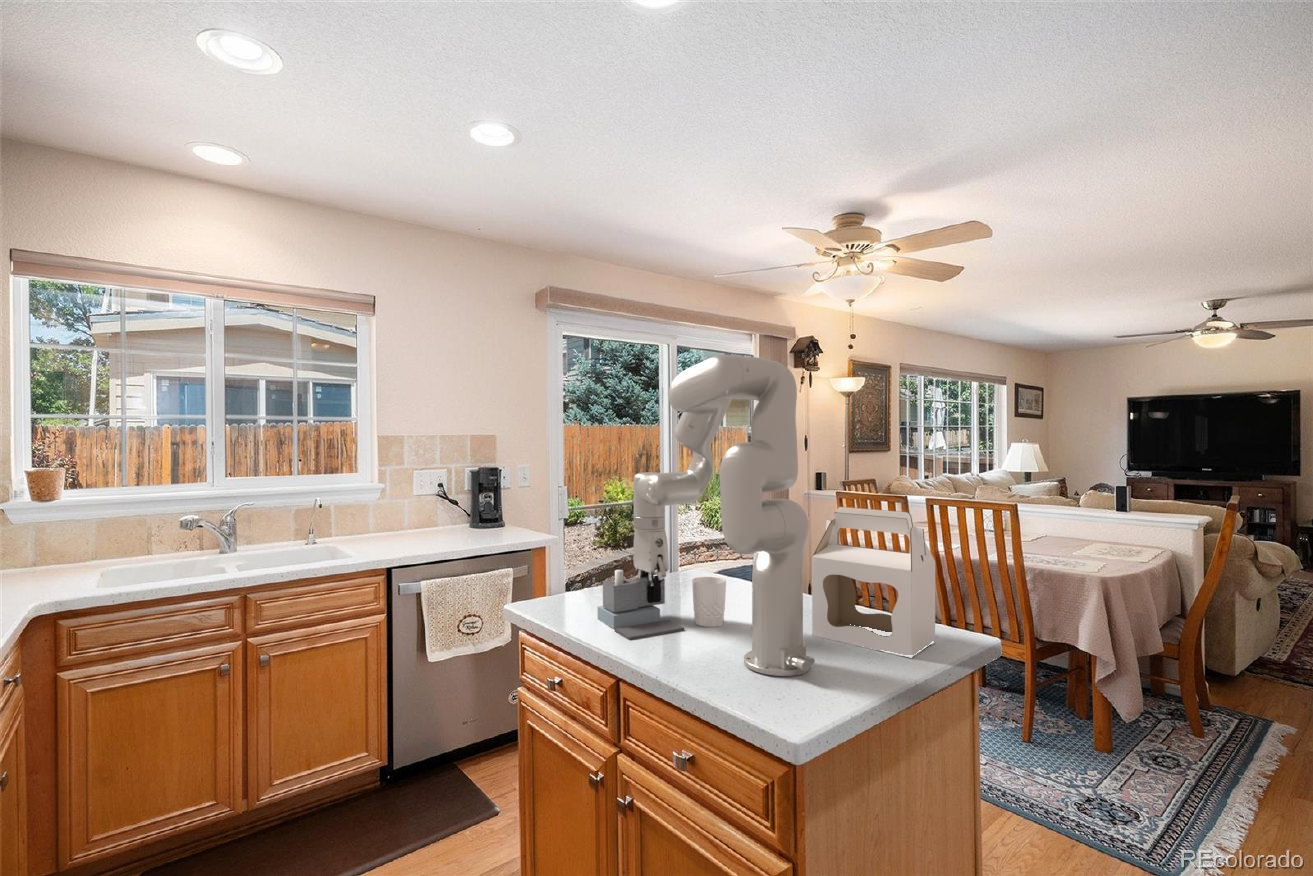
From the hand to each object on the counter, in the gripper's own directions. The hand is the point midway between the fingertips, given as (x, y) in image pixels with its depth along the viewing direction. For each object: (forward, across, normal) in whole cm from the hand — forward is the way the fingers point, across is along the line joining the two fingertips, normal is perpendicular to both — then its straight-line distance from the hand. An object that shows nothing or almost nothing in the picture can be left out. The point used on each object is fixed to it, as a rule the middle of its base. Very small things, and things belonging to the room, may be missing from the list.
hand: (649, 599), depth 153 cm
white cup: (+5, -11, -10) cm, 15 cm away
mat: (+4, -9, +5) cm, 11 cm away
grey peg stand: (+4, 0, +6) cm, 7 cm away
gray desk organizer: (+1, 0, +4) cm, 4 cm away
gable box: (+5, -38, -34) cm, 51 cm away
